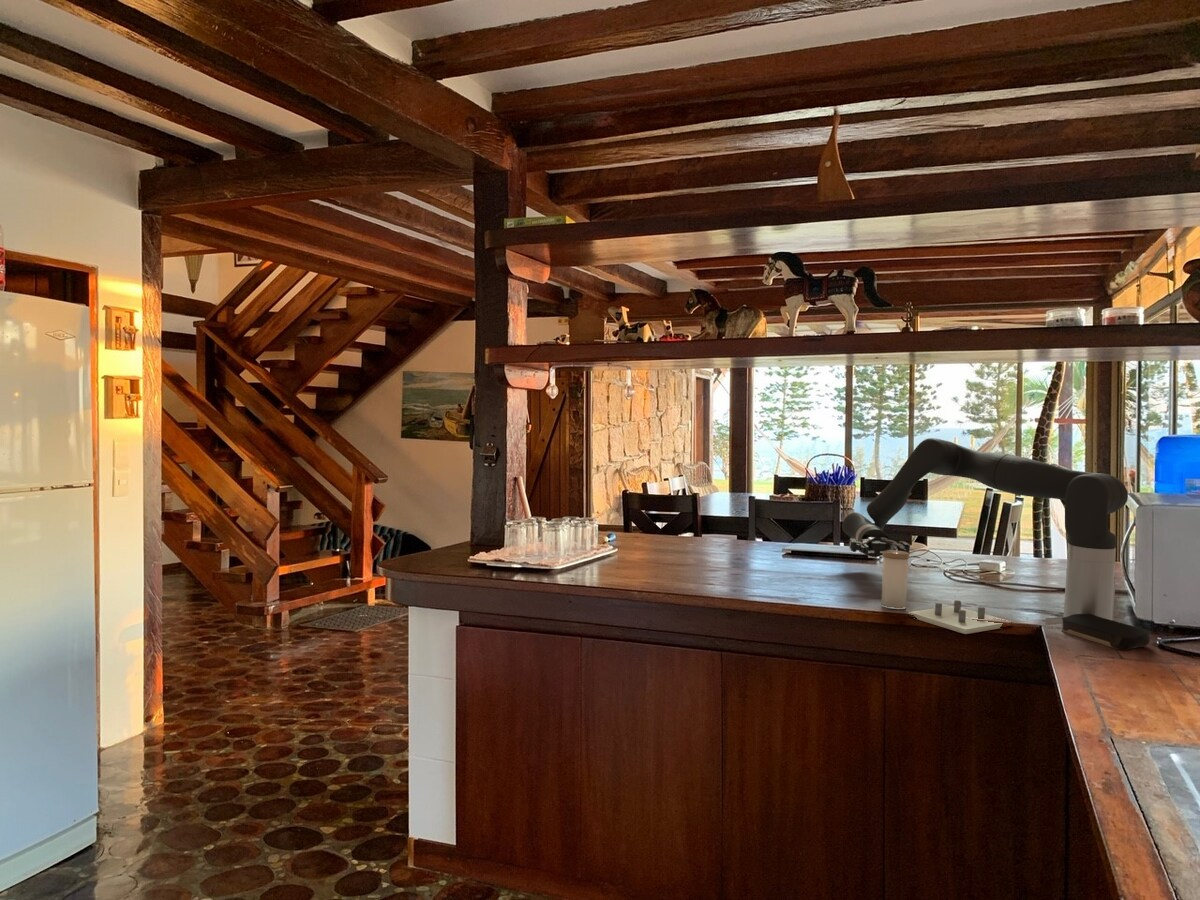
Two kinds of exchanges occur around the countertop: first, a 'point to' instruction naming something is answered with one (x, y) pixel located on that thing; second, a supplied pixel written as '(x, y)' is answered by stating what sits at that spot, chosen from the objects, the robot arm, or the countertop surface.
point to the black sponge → (1105, 631)
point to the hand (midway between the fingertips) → (884, 552)
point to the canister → (894, 578)
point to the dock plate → (957, 618)
